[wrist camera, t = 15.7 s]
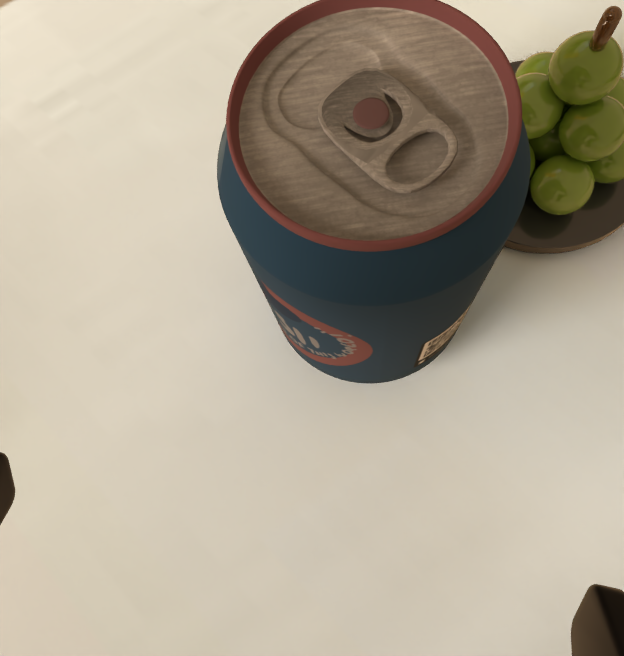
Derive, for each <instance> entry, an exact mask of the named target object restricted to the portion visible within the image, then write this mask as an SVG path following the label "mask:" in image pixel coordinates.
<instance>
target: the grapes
mask: <svg viewBox="0 0 624 656" xmlns="http://www.w3.org/2000/svg"><path fill="white" fill-rule="evenodd" d="M621 17H622V11H621V9H620V8H619V7H617V6H611V7H609V8H607V9H606V10H605V11H604V13H603V15H602V17H601V19H600V21H599V23H598V25H597V27H596V29H595V31H593V30H592V31H583V32H579V33H577V34H574V35H572V36H571V37H569V38H567V39H566V40H565V41H564V42H563V43H561V44H560V45H559V47H558V48H557V49H556V51H555V52H540V53H536V54H534V55H532V56H530V57H528V58H527V59H526V60H523V61H517V62H512V63H510V64H511V67H512V69H513V71H514V73H515V76H516V79H517V82H518V86H519V89H520V95H521V101H522V119H523V122H524V125H525V128H526V132H527V136H528V141H529V147H530V159H531V162H530V180H529V186H528V191H527V195H526V199H525V202H524V206H523V208H522V211H521V213H520V216H519V218H518V220H517V222H516V224H515V226H514V228H513V229H512V231H511V233H510V235H509V237H508V238H507V240H506V242H505V244H504V246H505V247H508V248H511V249H515V250H520V251H524V252H531V253H542V254H544V253H562V252H569V251H574V250H577V249H581V248H585V247H587V246H590V245H592V244H594V243H597V242H599V241H601V240H603V239H604V238H606V237H608V236H609V235H611V234H612V233H614V232H615V231H616V230H617V229H619V228H620V227H621V226H622V225H623V224H624V78H623V77H621V74H622V70H623V53H622V50H621V48H620V46H619V44H618V43H617V42H616V40H615V39H614V38H612V37H611V36H612V34H613V32H614V30H615V29H616V27H617V25H618V23H619V21H620V19H621Z"/></svg>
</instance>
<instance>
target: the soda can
mask: <svg viewBox="0 0 624 656" xmlns="http://www.w3.org/2000/svg"><path fill="white" fill-rule="evenodd" d="M530 162H531V159H530V147H529V141H528V136H527V132H526V128H525V125H524V122H523V119H522V101H521V95H520V89H519V86H518V82H517V79H516V76H515V73H514V71H513V69H512V67H511V64H510V62H509V60H508V59H507V57H506V55H505V53H504V52H503V50H502V49H501V48H500V46H499V45H498V43H497V42H496V41H495V40H494V39H493V38H492V36H491V35H490V34H489V33H488V32H487V31H486V30H485V29H484V28H483V27H481V26H480V25H479V24H478V23H477V22H475V21H474V20H473V19H471V18H470V17H469V16H467V15H466V14H464V13H462V12H461V11H459V10H457V9H456V8H454V7H452V6H450V5H448V4H445V3H443V2H441V1H438V0H319V1H317V2H314V3H312V4H310V5H307V6H305V7H303V8H301V9H299V10H298V11H296V12H294V13H292V14H291V15H289V16H288V17H286V18H285V19H283V20H282V21H280V22H279V23H278V24H276V25H275V26H274V27H273V28H272V29H271V30H269V31H268V32H267V33H266V34H265V35H264V36H263V37H262V38H261V39H260V40H259V42H258V43H257V44H256V45H255V46H254V47H253V49H252V50H251V51H250V53H249V54H248V56H247V57H246V59H245V60H244V62H243V64H242V66H241V67H240V69H239V71H238V73H237V76H236V78H235V80H234V83H233V86H232V89H231V92H230V96H229V101H228V107H227V116H226V125H225V128H224V131H223V134H222V138H221V142H220V147H219V153H218V162H217V180H218V189H219V195H220V200H221V203H222V207H223V210H224V213H225V215H226V218H227V220H228V222H229V224H230V226H231V228H232V230H233V232H234V234H235V236H236V238H237V241H238V243H239V245H240V247H241V249H242V251H243V253H244V255H245V257H246V259H247V261H248V263H249V265H250V267H251V269H252V271H253V273H254V275H255V277H256V279H257V281H258V283H259V285H260V287H261V289H262V291H263V293H264V295H265V297H266V299H267V301H268V303H269V305H270V307H271V309H272V311H273V313H274V315H275V317H276V319H277V321H278V323H279V325H280V327H281V329H282V331H283V333H284V335H285V337H286V339H287V340H288V342H289V343H290V344H291V346H292V347H293V348H294V349H295V351H296V352H297V353H298V354H299V355H300V356H301V357H302V358H303V359H304V360H306V361H307V362H308V363H309V364H311V365H312V366H313V367H315V368H317V369H318V370H320V371H322V372H324V373H326V374H328V375H330V376H333V377H335V378H338V379H342V380H346V381H350V382H356V383H381V382H388V381H392V380H396V379H400V378H403V377H405V376H408V375H410V374H412V373H414V372H416V371H418V370H420V369H422V368H423V367H425V366H426V365H428V364H429V363H430V362H431V361H433V360H434V359H435V358H436V357H437V356H438V355H439V354H440V353H441V352H442V351H443V350H444V349H445V348H446V346H447V345H448V344H449V342H450V341H451V339H452V338H453V336H454V334H455V332H456V331H457V329H458V327H459V325H460V323H461V322H462V320H463V318H464V316H465V314H466V313H467V311H468V309H469V307H470V305H471V304H472V302H473V300H474V298H475V296H476V295H477V293H478V291H479V289H480V287H481V285H482V284H483V282H484V280H485V278H486V276H487V275H488V273H489V271H490V269H491V267H492V266H493V264H494V262H495V260H496V258H497V257H498V255H499V253H500V251H501V249H502V248H503V246H504V244H505V242H506V240H507V238H508V237H509V235H510V233H511V231H512V229H513V228H514V226H515V224H516V222H517V220H518V218H519V216H520V213H521V211H522V208H523V206H524V202H525V199H526V195H527V191H528V186H529V180H530Z"/></svg>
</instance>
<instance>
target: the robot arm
mask: <svg viewBox="0 0 624 656" xmlns="http://www.w3.org/2000/svg"><path fill="white" fill-rule="evenodd" d="M14 497H15V486H14V482H13V477H12V473H11V469H10V464H9V460H8V458H7V456H6V455H5V454H4V453H1V452H0V525H1V523H2V521H3V519H4V518H5V516H6V514H7V512H8V511H9V509H10V507H11V505H12V503H13V500H14ZM571 644H572V656H624V592H623V591H622V590H620V589H616V588H612V587H607V586H603V585H598V584H594V585H592V586H590V587H589V589H588V590H587V592H586V594H585V596H584V598H583V600H582V602H581V604H580V606H579V608H578V610H577V612H576V614H575V616H574V619H573V622H572V627H571Z"/></svg>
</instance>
